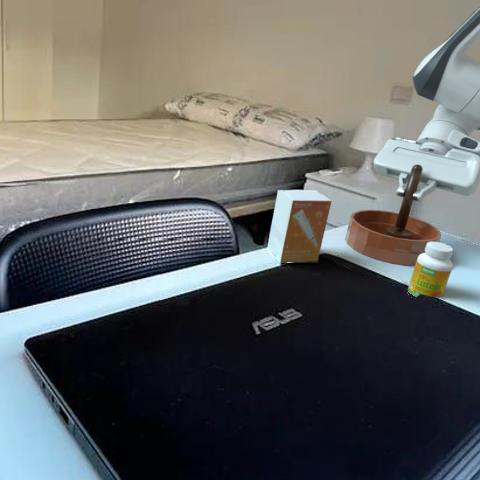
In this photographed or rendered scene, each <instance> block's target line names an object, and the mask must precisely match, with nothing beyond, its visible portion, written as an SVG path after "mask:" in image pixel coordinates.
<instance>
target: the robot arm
mask: <svg viewBox="0 0 480 480" xmlns="http://www.w3.org/2000/svg"><path fill="white" fill-rule="evenodd" d="M479 39H480V5H479V6H478V7H477V8H476V9H475V10H474V11H473V12H472V13H471V14H470V15H469V16H468V17H467V18H466V19H465V20H464V21H463V22H462V23H461V24H460V25H459V26H458V27H457V28H456V29H455V30H454V31H453V32H452V33H451V34H450V35H449V36H448V37H447V38H446V39H445V40H444V41H443V42H442V43H441V44H439V46H437V47H436V48H435V49H434V50H432V51H431V52H429V53H428V54H427V55H426V56H425V57H424V58H423V59H422V60H421V61H420V63H419V64H418V65H417V67H416V69H415V71H414V74H413V76H412V82H413V87H414V90H415V92H416V94H417V95H418V96H420V97H422V98H424V99H427V100H429V101H432V102H436V103H438V106H437V107H436V109H435V110H434V111H433V117H432V118H431V120H430V121H428V122H427V124H426V125H425V126H424V128H423V130H422V132H420V134H419V136H418V138H417V139H413V138H405V137H403V136H396V137H392V138H389V139H388V140H387V141H386V142H385V144H384V145H383V147H382V149H380V151H379V152H378V153H377V154H376V156H375V157H374V159H373V167H374V170H375V172H376V173H377V174H379V175H383V176H384V175H385V176H389V177H392V178H395V179H398V184H399V186H398V188H397V189H396V192H395V194H396V196H397V197H401V198H403V197H404V194H405V190H406V187H407V186H405V185H407V183H408V180H409V176H410V173H411V169H412V167H413V166H414V165H416V164H418V165H421V166H422V168H423V170H422V174H421V177H420V181H419V184H418V185H423V186H425V187H423V188H422V189H417V190H416V191H415V193H414V194H413V197H412V198H413V200H414V201H415V202H418V203H421V202H422V201H423V199H424V198H425V197H426V196H428V195H430V194H432V193H434V192H435V191H436V189H437V190H442V191H446V192H449V193H453V194H457V195H460V196H464V197H468V196H472V195H473V194H475V192H476V190H477V189H478V187H479V184H480V141H479V140H477V139H474V138H473V137H471V134H472V133H473V132H475V130H476V131H480V61H479V60H476V59H474V58H472V57H471V56H469V55H468V54H467V53H466V51H468V49H469V48H471V46H472V45H474V44H475V43H476V42H477V40H479ZM414 201H413V202H414Z"/></svg>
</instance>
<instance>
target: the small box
mask: <svg viewBox="0 0 480 480" xmlns="http://www.w3.org/2000/svg"><path fill="white" fill-rule="evenodd" d="M274 205H275V206H274V210H273V215H272V221H271V225H270V231H269V238H268V242H267V249H266V252H267V253H268V254H269V255H270V256H271V257H272V258H273V259H274V260H275V261H276V260H277V261H278V262H279V263H287V262H305V261H317V262H318V261H319V257H320V252H321V247H322V244H323V239H324V237H325V236H324V235H325V231H326V228H327V227H326V226H327V224H328V223H327V222H328V219H329V213H330V209H331V205H332V200H331V199H330V198H329V197H327V196H326V195H324V194H322V193H321V192H319V191H318V190H316V189H277V195H276V199H275V204H274ZM277 261H276V262H277ZM278 262H277V263H278ZM279 263H278V264H279Z"/></svg>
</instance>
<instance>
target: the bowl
mask: <svg viewBox="0 0 480 480" xmlns="http://www.w3.org/2000/svg"><path fill="white" fill-rule="evenodd" d="M398 215H399V212H395V211H388V210H381V209H361V210H357V211H354V212H353V213H351V215H350V218H349V222H348V225H347V229H346V234H345V238H344V239H345V242H346V244H347V246H349V247H350V248H351V249H352V250H354V251H356V252H358V253H359V254H361V255H363V256H366V257H369V258H371V259H374V260H377V261H380V262H385V263H388V264H393V265H394V264H395V265H400V266H414V267H415V264H416V261H417V259H418V256H419V255H420V254H422V253H426V252H425V248H426V245H427V243H428V242H440V241H441V239H442V232H441V231H440V229H438V228H437V227H436V226H434V225H433V224H431V223H429V222H427V221H425V220H423V219H420V218H418V217H414V216H410V215H409V218H408V221H407V224H406V228H405V229H407V230H409V231H411V232H412V237H411V240H409V239H402V238H396V237H392V236H387V235H384V234H385V230H386V228H387V227H389V226H395V225H396V222H397V218H398Z"/></svg>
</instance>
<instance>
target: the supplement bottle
mask: <svg viewBox="0 0 480 480" xmlns="http://www.w3.org/2000/svg"><path fill="white" fill-rule="evenodd" d="M425 252H426V253H422V254H420V255H419V256H418V259H417V261H416V264H415V266H414V268H413V272H412V275H411V277H410V281H409V283H408V286H407V291H408V292H409V293H410V294H412V295H413V296H415V297H416V298H418V297H419V296H420V295H422V296H426V297H431V298H439V297H443V295H444V293H445V290H446V287H447V284H448V281H449V278H450V275H451V273H452V270H453V267H454V265H453V262H452V260H451V257H452V255H453V253H454V248H453V247H452V246H451V245H449V244H446V243H443V242H440V241H439V242H428V243H427V245H426V248H425ZM408 292H407V293H408Z"/></svg>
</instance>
